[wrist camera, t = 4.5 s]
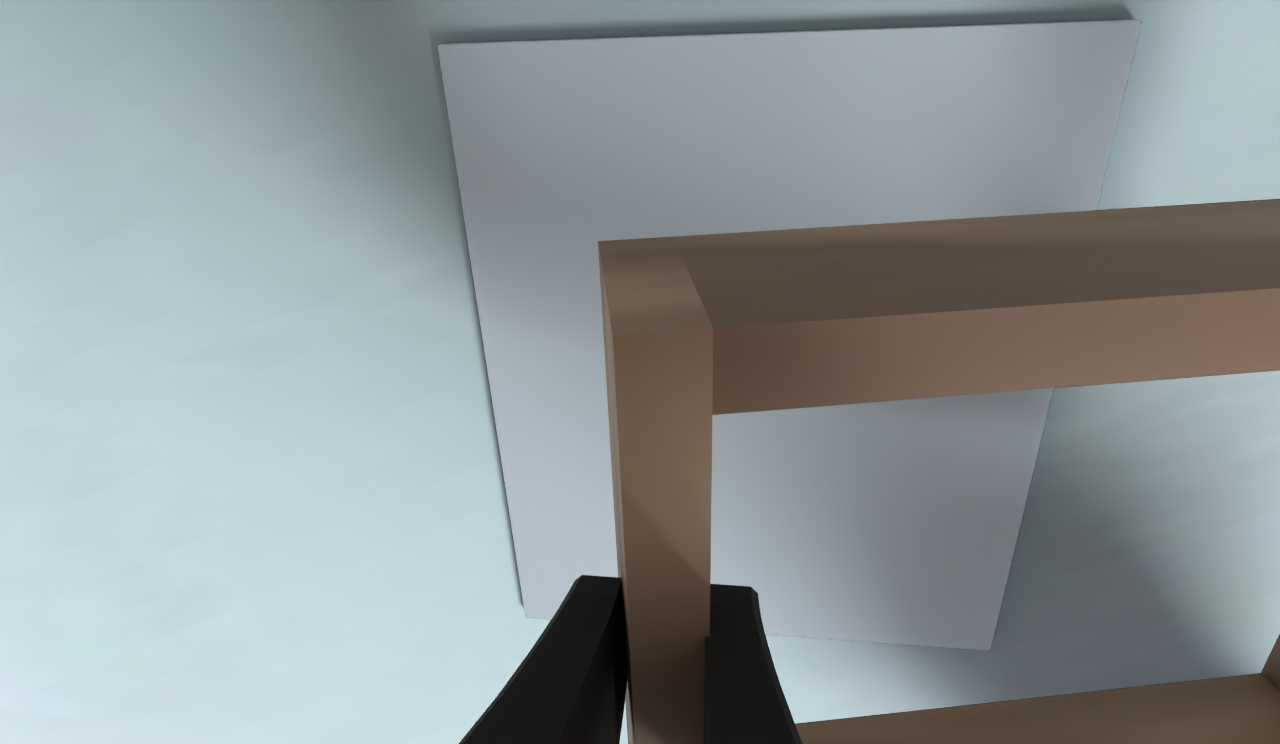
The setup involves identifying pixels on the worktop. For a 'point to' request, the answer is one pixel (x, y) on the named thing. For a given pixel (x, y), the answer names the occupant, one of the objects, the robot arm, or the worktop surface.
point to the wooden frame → (903, 370)
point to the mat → (762, 201)
